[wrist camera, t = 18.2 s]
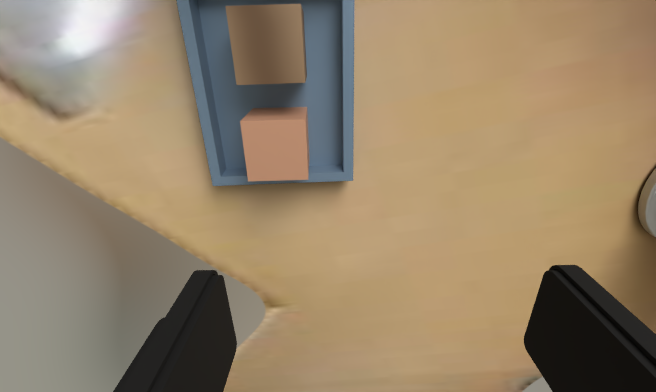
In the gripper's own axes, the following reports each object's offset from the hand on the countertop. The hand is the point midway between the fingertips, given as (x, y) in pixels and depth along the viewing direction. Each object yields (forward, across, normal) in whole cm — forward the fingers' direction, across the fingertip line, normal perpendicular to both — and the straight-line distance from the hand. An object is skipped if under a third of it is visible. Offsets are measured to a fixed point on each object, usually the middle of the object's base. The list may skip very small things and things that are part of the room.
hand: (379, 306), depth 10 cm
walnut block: (+20, +6, -7) cm, 22 cm away
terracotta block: (+20, +6, 0) cm, 21 cm away
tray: (+20, +6, -4) cm, 22 cm away
